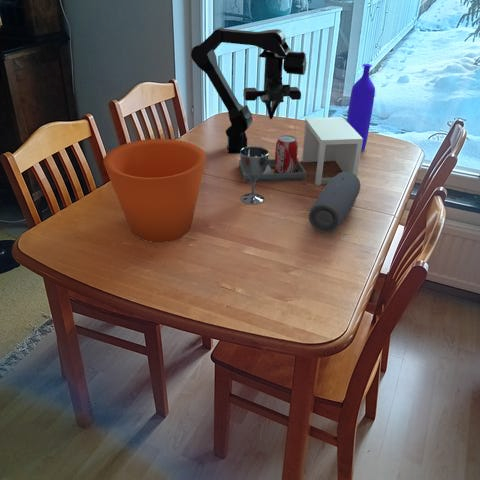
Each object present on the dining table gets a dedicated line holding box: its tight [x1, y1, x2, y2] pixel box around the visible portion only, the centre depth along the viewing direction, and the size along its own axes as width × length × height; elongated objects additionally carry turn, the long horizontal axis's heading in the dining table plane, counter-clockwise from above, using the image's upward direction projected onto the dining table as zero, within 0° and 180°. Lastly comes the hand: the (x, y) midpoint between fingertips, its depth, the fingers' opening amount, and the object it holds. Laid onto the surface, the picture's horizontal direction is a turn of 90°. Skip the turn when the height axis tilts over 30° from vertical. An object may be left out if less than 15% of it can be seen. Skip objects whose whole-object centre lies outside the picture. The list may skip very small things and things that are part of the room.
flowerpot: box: [102, 138, 207, 243], centre depth 123 cm, size 25×25×20 cm
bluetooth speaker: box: [308, 171, 361, 234], centre depth 132 cm, size 23×9×10 cm, turn 155°
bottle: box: [346, 63, 376, 152], centre depth 170 cm, size 8×8×30 cm
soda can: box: [274, 134, 299, 173], centre depth 155 cm, size 7×7×12 cm
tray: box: [238, 157, 307, 183], centre depth 157 cm, size 20×12×2 cm, turn 98°
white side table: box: [301, 116, 363, 186], centre depth 156 cm, size 13×20×15 cm, turn 8°
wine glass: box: [239, 145, 269, 205], centre depth 138 cm, size 8×8×15 cm
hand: (270, 118), depth 164 cm, fingers closed
